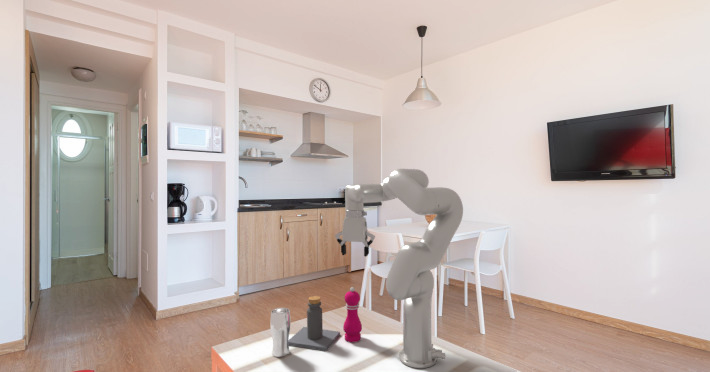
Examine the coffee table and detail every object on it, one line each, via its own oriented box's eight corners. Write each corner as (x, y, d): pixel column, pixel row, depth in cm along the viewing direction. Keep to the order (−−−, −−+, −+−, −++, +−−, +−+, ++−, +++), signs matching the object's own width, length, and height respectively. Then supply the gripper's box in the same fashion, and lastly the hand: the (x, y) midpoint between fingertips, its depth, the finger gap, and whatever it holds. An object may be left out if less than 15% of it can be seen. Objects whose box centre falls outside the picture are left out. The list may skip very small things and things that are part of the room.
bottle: (325, 336, 131) (325, 297, 131) (314, 341, 127) (313, 301, 127) (315, 331, 135) (315, 294, 135) (304, 337, 131) (303, 298, 131)
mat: (340, 334, 135) (340, 331, 135) (326, 351, 122) (326, 347, 122) (303, 329, 140) (303, 326, 140) (286, 344, 127) (286, 341, 127)
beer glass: (294, 351, 122) (294, 309, 122) (280, 359, 116) (280, 316, 116) (280, 346, 126) (280, 306, 126) (266, 354, 120) (266, 312, 120)
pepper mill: (360, 343, 127) (359, 290, 127) (341, 342, 129) (340, 289, 129) (363, 335, 134) (363, 285, 134) (345, 334, 136) (345, 284, 136)
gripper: (376, 213, 143) (377, 254, 143) (338, 213, 148) (338, 252, 148) (372, 215, 135) (372, 258, 135) (331, 214, 141) (332, 256, 141)
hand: (354, 255), depth 142 cm, fingers open, 9 cm apart
